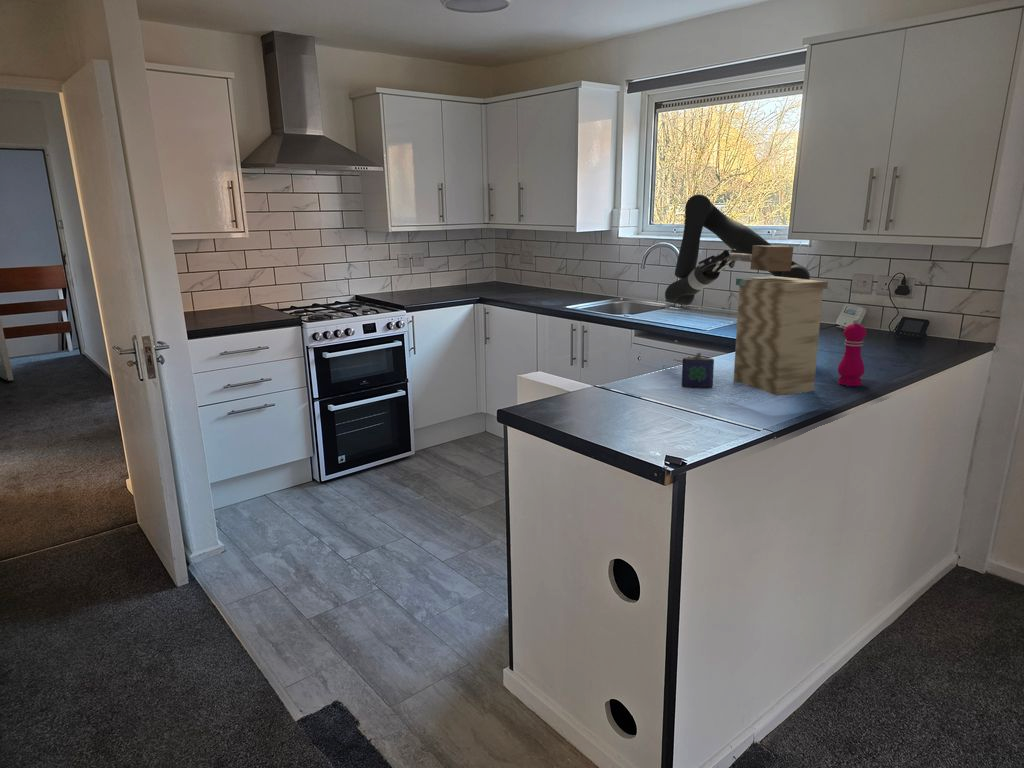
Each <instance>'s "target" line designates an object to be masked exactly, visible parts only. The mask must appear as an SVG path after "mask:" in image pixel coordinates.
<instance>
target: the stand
mask: <svg viewBox="0 0 1024 768" xmlns="http://www.w3.org/2000/svg"><path fill="white" fill-rule="evenodd" d="M735 279H736V280H735V286H738V287H739V288H738V301H737V303H738V304H737V315H736V316H737V317H736V318H737V319H736V334H735V335H736V336H735V349H734V350H735V351H734V352H735V353H734V370H733V382H737V383H740V384H742V385H744V386H748V387H750V388H753V389H756V390H760V391H762V392H765V393H768V394H771V395H774V396H787V395H793V393H795V394H801V393H800V392H804V393H808V392H807V391H812V392H814V391H815V381H816V369H817V359H818V347H819V337H820V328H821V327H820V326H821V318H822V317H821V313H822V305H823V296H824V290H828V285H829V284H828V283H829V282H828V281H825V280H815V279H810V280H807V279H798V278H788V277H778V276H774V275H770V276H754V277H753V276H752V277H737V278H736V277H735Z"/></svg>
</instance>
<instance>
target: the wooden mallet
mask: <svg viewBox="0 0 1024 768" xmlns="http://www.w3.org/2000/svg"><path fill="white" fill-rule="evenodd" d="M722 252H723V251H721V252H719V254H721V253H722ZM793 254H794V246H786V245H785V246H783V245H772V246H753V248H752V254H742V253H729V256H728V257H727V258H726V259H724V260H733V261H736V262H747V263H750V268H749V269H750V270H752V271H753V270H754V271H762V272H763V271H764V272H768V271H791V264H792V261H793V257H794V256H793Z"/></svg>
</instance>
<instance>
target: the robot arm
mask: <svg viewBox="0 0 1024 768" xmlns="http://www.w3.org/2000/svg"><path fill="white" fill-rule="evenodd" d="M684 209H685V210H684V212H685V214H684V226H683V227H684V229H683V234H682V239H681V243H680V247H679V248H680V249H679V253H678V255H677V261H676V266H675V269H674V276H675V277H676V278H678V279H679V280H676V281H674V282H672V283H670V284H669V285H667V287H666V289H665V292H664V297H665V299H666V301H667V302H668V303H671V304H675V305H681V306H689V305H691V304H692V303H693V301H694V299H695V295H697V293H699V292H701V291H702V290H703V289H705V288H707V286H709V285H711V284H712V283H713V282H714V281H715V280H717V279H718V278H719V276H720V273H721V272H722V271H724V270H725V269H726V268H728V267H729V269H733V268H734V267H735V264H736V262H737V261H733V260H724V259H726V258H727V257H728V256H729V253H742V254H752V248H753V246H773V245H771V243H769V241H767V240H766V239H764V237H762V236H761V235H760V234H758V233H757V232H755V231H754V230H753V229H751V228H749V227H748V226H746V225H744V224H743V223H741V222H739V221H737V220H735V219H733V218H731V217H729V216H727V215H726V214H725V213H724V212H722V211H721V209H719V208H718V207H716V206H715V205H714V204H713V203H712V202H711V199H710V198H709V197H708V196H706V195H705V194H701V193H700V194H699V193H696V194H693V195H692V196H691V197H690V198H688V199H687V201H686V202H685V208H684ZM704 228H705V229H707V230H708V231H710V232H711V233H713V234H714V235H716V236H717V237H718V239H719V240H721V241H722V243H724V244H725V245H726V246H727V247H728V248H730V250H729V249H725V250H723V251H721V252H722V253H721V252H720V253H721V254H720V253H719V254H717V255H711V256H709V257H707V258H705V259H703V260H700V261H699V262H698V259H699V252H700V250H699V249H700V245H701V236H702V232H703V229H704ZM729 251H730V252H729ZM767 272H768V273H769V274H770V275H771V276H778V277H788V278H798V279H807V280H811V274H810V272H809V270H808V269H807V268H806V267H805V266H803V265H801V264H799V263H797V262H795V261H794V260H792V264H791V271H767Z"/></svg>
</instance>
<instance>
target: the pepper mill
mask: <svg viewBox="0 0 1024 768" xmlns="http://www.w3.org/2000/svg"><path fill="white" fill-rule="evenodd" d="M866 336H867V329H866V327H865V326H864V325H862V324H860V319H858V318H854V319H853V320H852V324H851V323H850V324H848V325H846V327H845V328H844V330H843V337H844V338H845V340H844V345H845V351H844V355H843V356H842V359H841V360H840V362H839V363H838V367H837V373H838V374H839V375H840V376H839V377H838V381H837V383H838V385H840V384H842V385H841V386H843V385H848V386H847V387H851V386H856V387H860V386H862V378H861V377H862V376H863V375H864V374H865V364H864V361H863V358H862V354H861V353H862V347H863V346H864V340H863V339H865V338H866ZM859 385H860V386H859Z"/></svg>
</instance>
